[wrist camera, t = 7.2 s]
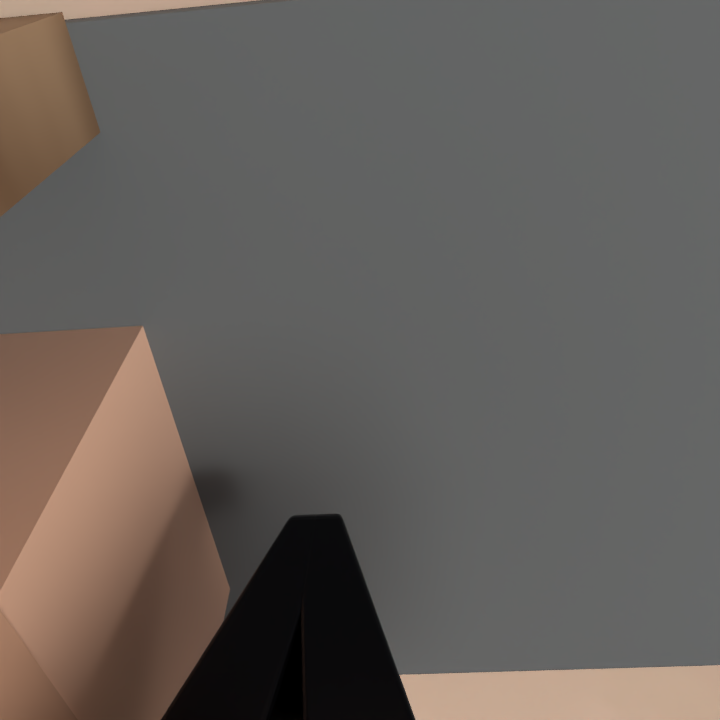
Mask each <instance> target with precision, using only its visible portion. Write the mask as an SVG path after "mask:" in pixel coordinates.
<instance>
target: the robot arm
mask: <svg viewBox="0 0 720 720" xmlns="http://www.w3.org/2000/svg"><path fill="white" fill-rule="evenodd" d="M161 720H415V717H414V715H413V712H412V709H411V706H410V703H409V701H408V698H407V695H406V692H405V690H404V687H403V684H402V681H401V678H400V676H399V673H398V670H397V667H396V664H395V662H394V659H393V656H392V653H391V651H390V648H389V645H388V642H387V639H386V637H385V634H384V631H383V628H382V626H381V623H380V620H379V617H378V614H377V612H376V609H375V606H374V603H373V600H372V598H371V595H370V592H369V589H368V587H367V584H366V581H365V578H364V575H363V573H362V570H361V567H360V564H359V562H358V559H357V556H356V553H355V550H354V548H353V545H352V542H351V539H350V536H349V534H348V531H347V528H346V525H345V523H344V520H343V517H342V516H341V515H340V514H338V513H332V514H306V515H293V516H291V517H290V518H289V519H288V521H287V522H286V524H285V525H284V527H283V528H282V530H281V531H280V533H279V535H278V536H277V538H276V539H275V541H274V542H273V544H272V546H271V547H270V549H269V550H268V552H267V553H266V555H265V557H264V558H263V560H262V561H261V563H260V564H259V566H258V568H257V569H256V571H255V572H254V574H253V575H252V577H251V579H250V580H249V582H248V583H247V585H246V586H245V588H244V590H243V591H242V593H241V594H240V596H239V597H238V599H237V601H236V602H235V604H234V605H233V607H232V608H231V610H230V612H229V613H228V615H227V616H226V618H225V619H224V621H223V623H222V624H221V626H220V627H219V629H218V630H217V632H216V634H215V635H214V637H213V638H212V640H211V641H210V643H209V645H208V646H207V648H206V649H205V651H204V652H203V654H202V656H201V657H200V659H199V660H198V662H197V663H196V665H195V667H194V668H193V670H192V671H191V673H190V674H189V676H188V678H187V679H186V681H185V682H184V684H183V685H182V687H181V689H180V690H179V692H178V693H177V695H176V696H175V698H174V700H173V701H172V703H171V704H170V706H169V707H168V709H167V711H166V712H165V714H164V715H163V717H162V718H161Z"/></svg>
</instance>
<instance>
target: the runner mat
mask: <svg viewBox="0 0 720 720" xmlns="http://www.w3.org/2000/svg"><path fill="white" fill-rule="evenodd" d="M65 23H66V26H67V29H68V32H69V35H70V38H71V42H72V45H73V48H74V51H75V54H76V57H77V60H78V63H79V67H80V70H81V73H82V76H83V79H84V82H85V85H86V88H87V92H88V95H89V98H90V101H91V104H92V107H93V110H94V113H95V117H96V120H97V123H98V126H99V129H100V133H99V134H98V135H97V136H96V137H94V138H93V139H92V140H91V141H90V142H89V143H87V144H86V145H85V146H84V147H83V148H81V149H80V150H79V151H78V152H77V153H75V154H74V155H73V156H72V157H71V158H70V159H68V160H67V161H66V162H65V163H64V164H62V165H61V166H60V167H59V168H58V169H57V170H55V171H54V172H53V173H52V174H51V175H49V176H48V177H47V178H46V179H45V180H44V181H42V182H41V183H40V184H39V185H38V186H36V187H35V188H34V189H33V190H32V191H31V192H29V193H28V194H27V195H26V196H25V197H23V198H22V199H21V200H20V201H19V202H17V203H16V204H15V205H14V206H13V207H12V208H10V209H9V210H8V211H7V212H6V213H4V214H3V215H2V216H1V217H0V334H13V333H30V332H46V331H63V330H79V329H96V328H112V327H129V326H143V328H144V331H145V334H146V337H147V340H148V343H149V346H150V349H151V352H152V355H153V358H154V361H155V364H156V367H157V370H158V373H159V376H160V379H161V382H162V385H163V388H164V391H165V394H166V397H167V400H168V403H169V406H170V409H171V412H172V415H173V418H174V421H175V424H176V427H177V430H178V433H179V436H180V439H181V442H182V445H183V448H184V451H185V454H186V457H187V460H188V463H189V466H190V469H191V472H192V476H193V479H194V482H195V485H196V488H197V491H198V494H199V497H200V500H201V503H202V506H203V509H204V512H205V515H206V518H207V521H208V524H209V527H210V530H211V533H212V536H213V539H214V542H215V545H216V548H217V551H218V554H219V557H220V560H221V563H222V566H223V569H224V572H225V575H226V578H227V581H228V584H229V587H230V592H229V597H228V601H227V606H226V611H225V616H224V619H225V618H226V616H227V615H228V613H229V612H230V610H231V608H232V607H233V605H234V604H235V602H236V601H237V599H238V597H239V596H240V594H241V593H242V591H243V590H244V588H245V586H246V585H247V583H248V582H249V580H250V579H251V577H252V575H253V574H254V572H255V571H256V569H257V568H258V566H259V564H260V563H261V561H262V560H263V558H264V557H265V555H266V553H267V552H268V550H269V549H270V547H271V546H272V544H273V542H274V541H275V539H276V538H277V536H278V535H279V533H280V531H281V530H282V528H283V527H284V525H285V524H286V522H287V521H288V519H289V518H290V517H291V516H293V515H306V514H332V513H338V514H340V515H341V516H342V517H343V520H344V523H345V525H346V528H347V531H348V534H349V536H350V539H351V542H352V545H353V548H354V550H355V553H356V556H357V559H358V562H359V564H360V567H361V570H362V573H363V575H364V578H365V581H366V584H367V587H368V589H369V592H370V595H371V598H372V600H373V603H374V606H375V609H376V612H377V614H378V617H379V620H380V623H381V626H382V628H383V631H384V634H385V637H386V639H387V642H388V645H389V648H390V651H391V653H392V656H393V659H394V662H395V664H396V667H397V670H398V673H399V675H402V674H436V673H469V672H503V671H536V670H570V669H603V668H637V667H671V666H704V665H720V0H261V1H251V2H241V3H231V4H221V5H210V6H200V7H190V8H180V9H170V10H160V11H150V12H140V13H130V14H120V15H110V16H100V17H90V18H80V19H70V20H65Z"/></svg>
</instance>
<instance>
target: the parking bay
mask: <svg viewBox="0 0 720 720" xmlns="http://www.w3.org/2000/svg"><path fill="white" fill-rule="evenodd" d="M99 133H100V129H99V126H98V123H97V120H96V117H95V113H94V110H93V107H92V104H91V101H90V98H89V95H88V92H87V88H86V85H85V82H84V79H83V76H82V73H81V70H80V67H79V63H78V60H77V57H76V54H75V51H74V48H73V45H72V42H71V38H70V35H69V32H68V29H67V26H66V23H65V20H64V17H63V13H62V12H59V13H49V14H39V15H29V16H19V17H10V18H0V217H1V216H2V215H3V214H4V213H6V212H7V211H8V210H9V209H10V208H12V207H13V206H14V205H15V204H16V203H17V202H19V201H20V200H21V199H22V198H23V197H25V196H26V195H27V194H28V193H29V192H31V191H32V190H33V189H34V188H35V187H36V186H38V185H39V184H40V183H41V182H42V181H44V180H45V179H46V178H47V177H48V176H49V175H51V174H52V173H53V172H54V171H55V170H57V169H58V168H59V167H60V166H61V165H62V164H64V163H65V162H66V161H67V160H68V159H70V158H71V157H72V156H73V155H74V154H75V153H77V152H78V151H79V150H80V149H81V148H83V147H84V146H85V145H86V144H87V143H89V142H90V141H91V140H92V139H93V138H94V137H96V136H97V135H98V134H99Z"/></svg>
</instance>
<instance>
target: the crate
mask: <svg viewBox="0 0 720 720" xmlns="http://www.w3.org/2000/svg"><path fill="white" fill-rule="evenodd" d="M229 592H230V587H229V584H228V581H227V578H226V575H225V572H224V569H223V566H222V563H221V560H220V557H219V554H218V551H217V548H216V545H215V542H214V539H213V536H212V533H211V530H210V527H209V524H208V521H207V518H206V515H205V512H204V509H203V506H202V503H201V500H200V497H199V494H198V491H197V488H196V485H195V482H194V479H193V476H192V472H191V469H190V466H189V463H188V460H187V457H186V454H185V451H184V448H183V445H182V442H181V439H180V436H179V433H178V430H177V427H176V424H175V421H174V418H173V415H172V412H171V409H170V406H169V403H168V400H167V397H166V394H165V391H164V388H163V385H162V382H161V379H160V376H159V373H158V370H157V367H156V364H155V361H154V358H153V355H152V352H151V349H150V346H149V343H148V340H147V337H146V334H145V331H144V328H143V326H129V327H112V328H96V329H79V330H63V331H46V332H30V333H13V334H0V720H161V718H162V717H163V715H164V714H165V712H166V711H167V709H168V707H169V706H170V704H171V703H172V701H173V700H174V698H175V696H176V695H177V693H178V692H179V690H180V689H181V687H182V685H183V684H184V682H185V681H186V679H187V678H188V676H189V674H190V673H191V671H192V670H193V668H194V667H195V665H196V663H197V662H198V660H199V659H200V657H201V656H202V654H203V652H204V651H205V649H206V648H207V646H208V645H209V643H210V641H211V640H212V638H213V637H214V635H215V634H216V632H217V630H218V629H219V627H220V626H221V624H222V623H223V621H224V616H225V611H226V606H227V601H228V597H229Z"/></svg>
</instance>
